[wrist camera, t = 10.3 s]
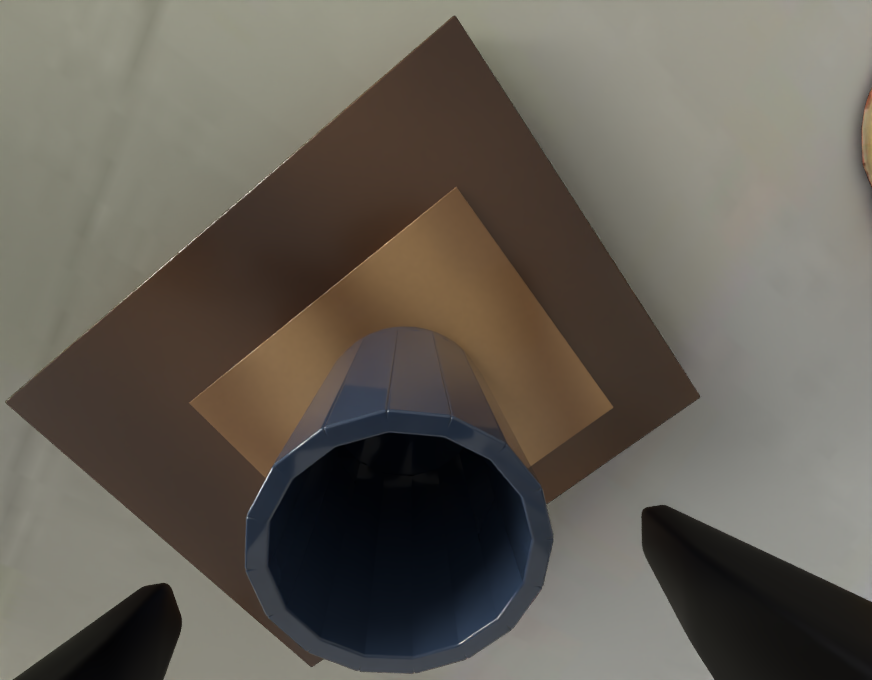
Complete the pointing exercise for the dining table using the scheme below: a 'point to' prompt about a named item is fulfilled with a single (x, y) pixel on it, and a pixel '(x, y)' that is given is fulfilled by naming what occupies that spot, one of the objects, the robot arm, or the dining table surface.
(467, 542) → the cup
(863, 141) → the pastry
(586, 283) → the desk board
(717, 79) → the dining table surface
